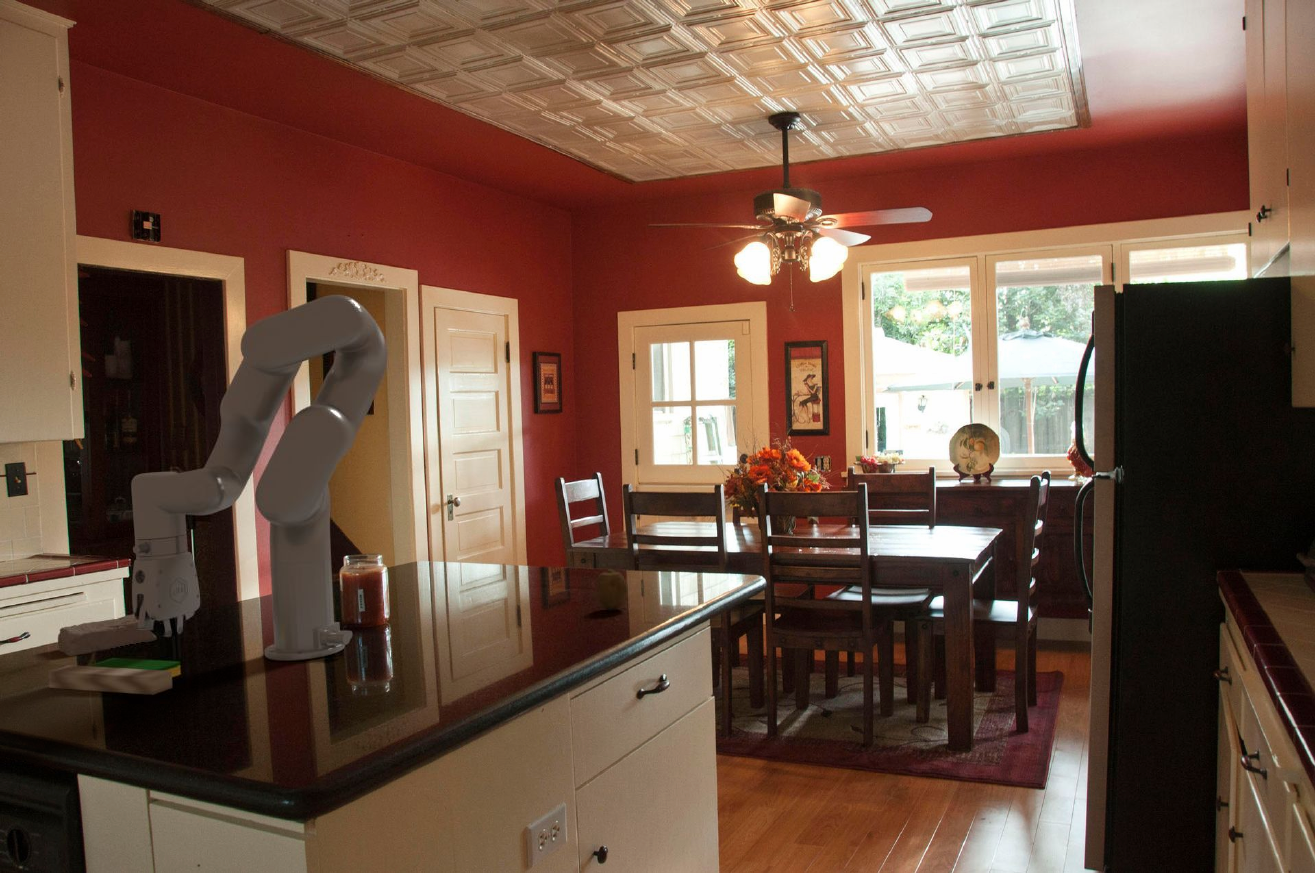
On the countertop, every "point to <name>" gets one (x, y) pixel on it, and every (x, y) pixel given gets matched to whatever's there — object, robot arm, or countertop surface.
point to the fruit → (611, 590)
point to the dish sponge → (141, 664)
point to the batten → (110, 679)
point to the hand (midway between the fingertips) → (169, 658)
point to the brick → (102, 635)
